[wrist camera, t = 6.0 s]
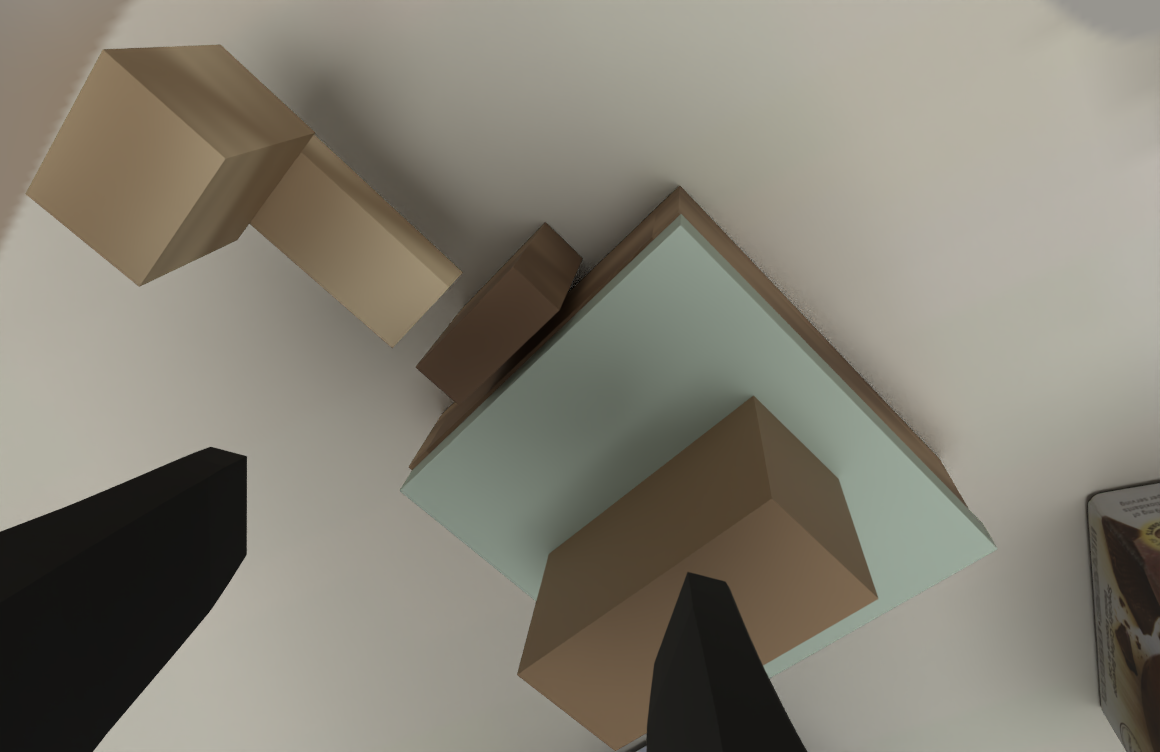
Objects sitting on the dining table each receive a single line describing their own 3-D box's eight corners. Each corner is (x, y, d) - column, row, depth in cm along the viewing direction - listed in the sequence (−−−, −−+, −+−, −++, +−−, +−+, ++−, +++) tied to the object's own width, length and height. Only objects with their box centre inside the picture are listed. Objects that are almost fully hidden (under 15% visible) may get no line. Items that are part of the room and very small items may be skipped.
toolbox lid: (982, 523, 18) (1077, 684, 14) (688, 696, 22) (688, 865, 18) (681, 213, 16) (677, 287, 11) (412, 469, 20) (332, 598, 15)
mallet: (477, 257, 15) (414, 326, 12) (395, 344, 17) (316, 430, 13) (249, 43, 14) (102, 49, 11) (179, 154, 15) (25, 193, 12)
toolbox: (940, 460, 21) (992, 549, 17) (683, 623, 25) (682, 723, 21) (630, 133, 18) (616, 160, 15) (396, 376, 22) (341, 443, 18)
